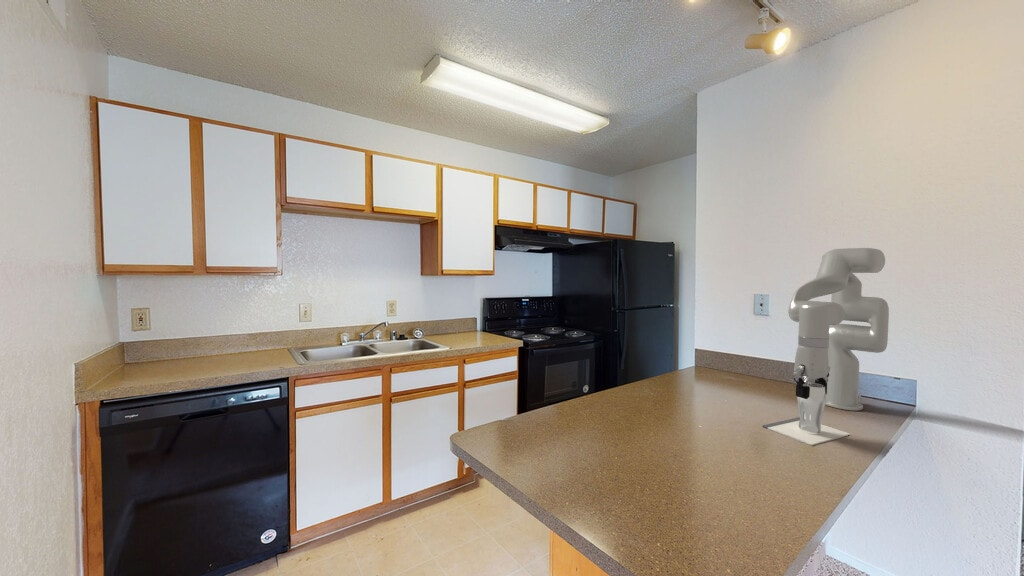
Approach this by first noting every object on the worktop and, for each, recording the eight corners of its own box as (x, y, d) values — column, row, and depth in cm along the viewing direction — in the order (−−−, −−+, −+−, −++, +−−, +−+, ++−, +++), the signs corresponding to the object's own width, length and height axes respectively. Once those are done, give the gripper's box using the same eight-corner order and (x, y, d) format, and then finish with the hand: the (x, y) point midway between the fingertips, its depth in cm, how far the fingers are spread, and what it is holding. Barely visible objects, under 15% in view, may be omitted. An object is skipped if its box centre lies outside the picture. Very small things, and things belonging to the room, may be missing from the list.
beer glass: (813, 426, 121) (814, 381, 121) (829, 435, 114) (831, 388, 114) (791, 425, 122) (792, 381, 121) (806, 435, 115) (808, 387, 114)
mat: (800, 418, 129) (800, 417, 129) (850, 435, 116) (850, 433, 116) (762, 426, 122) (762, 425, 122) (811, 445, 108) (811, 444, 108)
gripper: (816, 338, 124) (814, 388, 124) (783, 342, 117) (781, 395, 118) (843, 342, 117) (841, 395, 118) (809, 347, 110) (807, 403, 111)
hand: (811, 395), depth 118 cm, fingers open, 9 cm apart
